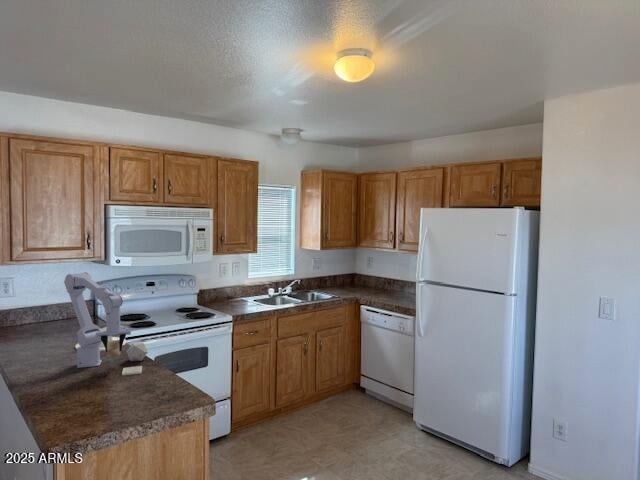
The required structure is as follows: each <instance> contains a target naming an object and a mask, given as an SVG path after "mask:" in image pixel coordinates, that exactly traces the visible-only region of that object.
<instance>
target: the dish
mask: <svg viewBox="0 0 640 480" xmlns="http://www.w3.org/2000/svg"><path fill="white" fill-rule="evenodd" d="M99 328H100V330H101V331H107V329H106V326H105V327H102V328H101V327H99ZM119 337H120V336H108V341H115V340H120V339H119ZM126 344H127V340H126V338H125V339H124V341H123V345H122V347H123V346H125V345H126ZM78 347H81V346H80V345H79V343H78V342H77V344H75V345H74V348H75V351H77V349H78ZM100 352H106V349H105V346H104V344H103V342H101V344H100Z"/></svg>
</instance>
